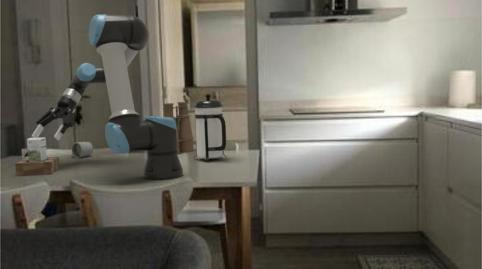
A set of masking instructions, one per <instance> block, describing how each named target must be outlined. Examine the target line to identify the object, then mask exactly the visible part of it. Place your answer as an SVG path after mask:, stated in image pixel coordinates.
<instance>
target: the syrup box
mask: <svg viewBox="0 0 482 269" xmlns="http://www.w3.org/2000/svg"><path fill="white" fill-rule="evenodd" d="M26 145H27V148H28V160H29V162H40V161H46V160H47V157H48V153H47V140H46V137H42V136H41V137H40V136H39V137H37V138H33V137H30V138H27V139H26Z"/></svg>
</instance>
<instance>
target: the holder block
mask: <svg viewBox="0 0 482 269" xmlns="http://www.w3.org/2000/svg"><path fill="white" fill-rule="evenodd" d="M14 166H15V176H19V177H23V176H41V175H53V174H54V173H55V172H57V171H58V170H59V169H60V161H59V156H49V157H48V156H47V160H46V161H40V162H29V160H28V158H25V159H23V160H22V159H21V160H19V161H18V162H16V163H15V165H14Z"/></svg>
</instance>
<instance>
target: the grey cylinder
mask: <svg viewBox="0 0 482 269" xmlns="http://www.w3.org/2000/svg"><path fill="white" fill-rule="evenodd" d="M93 153H94V146H93V144H92V143H91V142H90V141H77V142H73V144H72V145H71V155H72V157H74V158H76V159H81V158H86V157H90V156H91V155H92V154H93Z"/></svg>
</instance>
